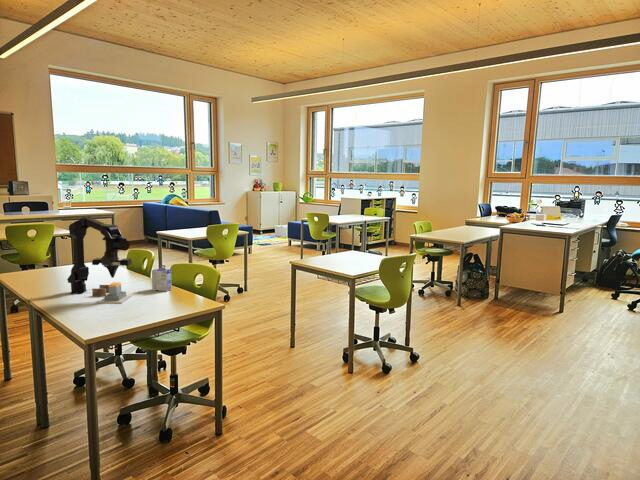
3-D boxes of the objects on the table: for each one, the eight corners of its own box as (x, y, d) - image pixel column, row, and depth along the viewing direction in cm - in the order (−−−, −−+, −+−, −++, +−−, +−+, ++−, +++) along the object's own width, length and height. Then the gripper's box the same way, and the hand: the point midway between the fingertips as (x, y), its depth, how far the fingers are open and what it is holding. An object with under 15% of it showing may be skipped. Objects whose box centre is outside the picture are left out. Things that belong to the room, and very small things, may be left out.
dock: (98, 303, 228) (97, 297, 228) (110, 296, 242) (109, 290, 242) (121, 303, 229) (121, 297, 228) (132, 296, 243) (131, 290, 242)
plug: (109, 299, 232) (108, 285, 231) (114, 296, 238) (113, 282, 237) (117, 299, 233) (116, 285, 231) (121, 296, 239) (120, 282, 237)
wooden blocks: (92, 296, 242) (92, 289, 242) (100, 291, 252) (100, 284, 251) (105, 296, 242) (105, 289, 242) (113, 291, 252) (112, 284, 251)
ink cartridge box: (172, 289, 259) (171, 265, 257) (167, 291, 253) (166, 267, 251) (157, 288, 261) (156, 264, 259) (151, 290, 255) (150, 266, 253)
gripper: (86, 251, 226) (87, 280, 228) (123, 251, 227) (124, 281, 229) (96, 247, 237) (97, 275, 239) (131, 248, 238) (132, 276, 240)
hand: (112, 277), depth 237 cm, fingers closed
